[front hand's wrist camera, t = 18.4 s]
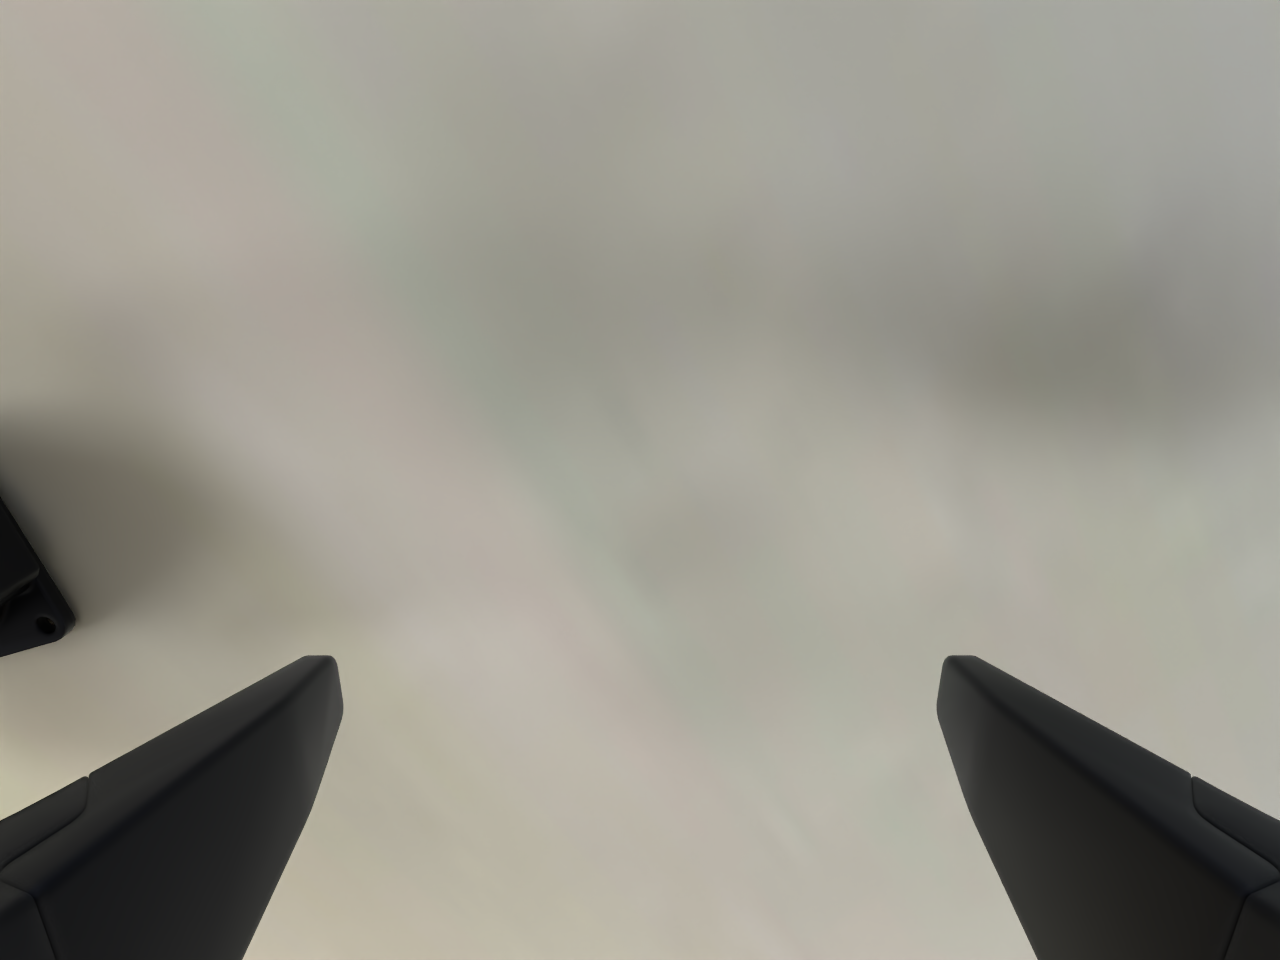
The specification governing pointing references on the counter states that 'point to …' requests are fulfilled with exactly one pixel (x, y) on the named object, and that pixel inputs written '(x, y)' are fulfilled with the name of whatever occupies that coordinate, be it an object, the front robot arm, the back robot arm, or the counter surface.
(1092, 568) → the counter surface
